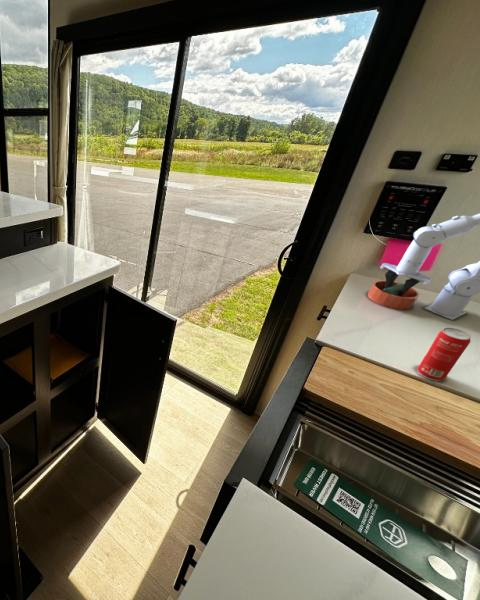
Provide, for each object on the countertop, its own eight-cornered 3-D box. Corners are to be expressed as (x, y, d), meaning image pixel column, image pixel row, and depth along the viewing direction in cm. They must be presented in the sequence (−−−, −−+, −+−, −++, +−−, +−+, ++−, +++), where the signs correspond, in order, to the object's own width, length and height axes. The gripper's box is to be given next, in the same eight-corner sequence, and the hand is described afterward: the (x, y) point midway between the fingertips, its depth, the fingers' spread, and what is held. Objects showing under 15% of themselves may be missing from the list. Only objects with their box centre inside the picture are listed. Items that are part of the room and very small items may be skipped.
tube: (392, 290, 125) (397, 281, 123) (404, 295, 122) (410, 286, 120) (378, 295, 122) (384, 286, 120) (390, 300, 119) (396, 291, 117)
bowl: (380, 288, 130) (386, 277, 128) (419, 304, 120) (427, 292, 117) (360, 295, 126) (365, 285, 123) (399, 313, 116) (406, 301, 113)
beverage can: (448, 383, 88) (484, 342, 80) (421, 380, 89) (453, 339, 81) (433, 368, 93) (465, 327, 85) (407, 365, 94) (437, 325, 86)
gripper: (383, 254, 118) (366, 286, 126) (432, 270, 107) (410, 304, 114) (394, 251, 120) (377, 282, 128) (443, 266, 109) (421, 299, 117)
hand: (393, 292), depth 121 cm, fingers closed on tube, 4 cm apart
